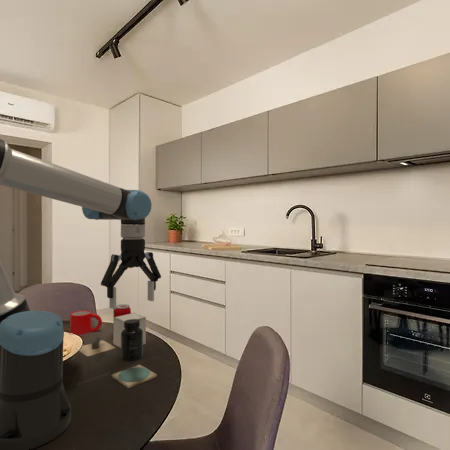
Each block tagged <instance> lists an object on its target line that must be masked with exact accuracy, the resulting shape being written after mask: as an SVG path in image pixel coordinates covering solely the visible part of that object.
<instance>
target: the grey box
mask: <svg viewBox="0 0 450 450" xmlns="http://www.w3.org/2000/svg"><path fill="white" fill-rule="evenodd" d="M113 317H114V316H113ZM130 319H138V320H139V321H140V327H139V328H141V329H142V331H143V346H144V345H146V341H147V337H146V332H147V328H146V327H147V324H146V323H147V319H146V316H142V315H141V314H138V313H135V312H132V313H131V314H127V315H122V316H118V317H114V336H112V337H113V338H112V339H113V346H115V347H118V348H120V349H121V332H122V331H123V330H124V329H125V328H124V322H125V321H126V320H130Z"/></svg>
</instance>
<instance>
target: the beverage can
mask: <svg viewBox="0 0 450 450" xmlns="http://www.w3.org/2000/svg"><path fill="white" fill-rule="evenodd" d="M131 310H132V309H131V306H130V305H129V304H116V309H113V325H112V326H113V327H112V329H113V334H112V335H113V336H114V317H118V316H122V315H127V314H131V312H132V311H131ZM113 336H112V337H113Z"/></svg>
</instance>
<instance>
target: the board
mask: <svg viewBox="0 0 450 450" xmlns="http://www.w3.org/2000/svg"><path fill="white" fill-rule="evenodd" d="M81 346H82V348H81V349H80V350H79V351H78V352H80V353H81V354H83V355H85V356H86V357H91V356H94V355H97V354H100V353H103V352H106V351H108V352H109V351H111V350H114V349H117V346H115V345H112V344H111V343H109V342H107V341H105V340H100V334H94V335H92V336H91V343H89V344H85V345H81Z"/></svg>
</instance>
